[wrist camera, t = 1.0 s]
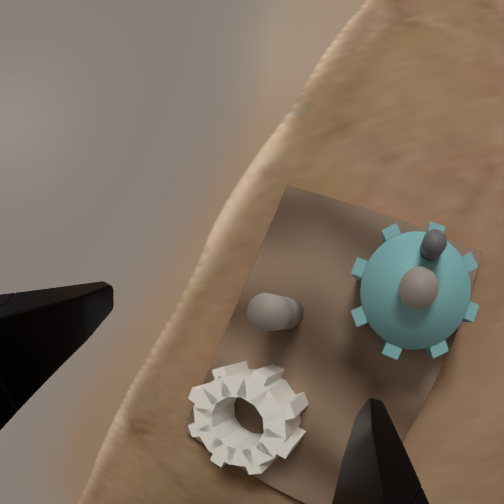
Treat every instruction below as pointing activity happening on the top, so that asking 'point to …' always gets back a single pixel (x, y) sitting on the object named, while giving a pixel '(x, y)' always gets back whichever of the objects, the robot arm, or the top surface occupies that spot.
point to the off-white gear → (229, 429)
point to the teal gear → (388, 300)
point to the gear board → (325, 335)
